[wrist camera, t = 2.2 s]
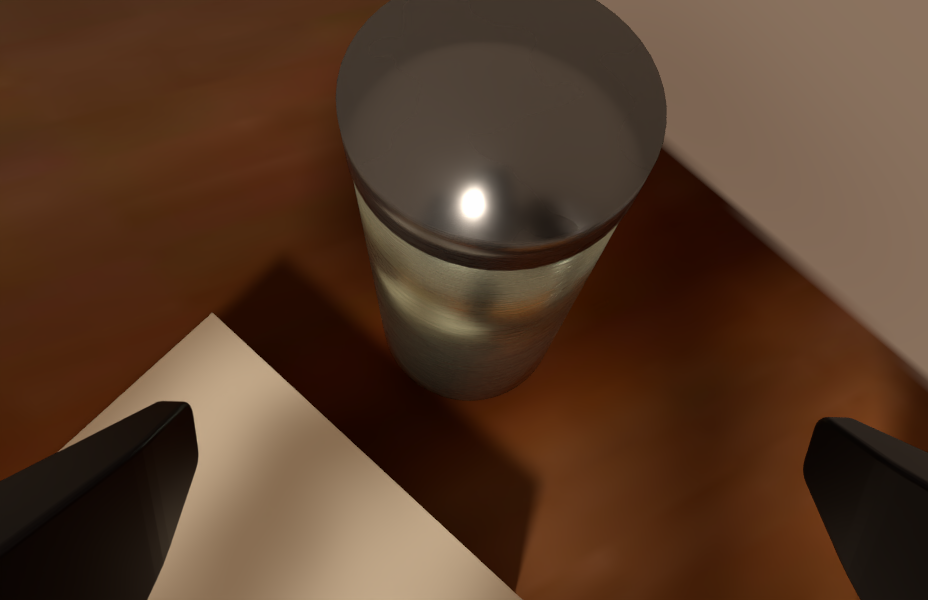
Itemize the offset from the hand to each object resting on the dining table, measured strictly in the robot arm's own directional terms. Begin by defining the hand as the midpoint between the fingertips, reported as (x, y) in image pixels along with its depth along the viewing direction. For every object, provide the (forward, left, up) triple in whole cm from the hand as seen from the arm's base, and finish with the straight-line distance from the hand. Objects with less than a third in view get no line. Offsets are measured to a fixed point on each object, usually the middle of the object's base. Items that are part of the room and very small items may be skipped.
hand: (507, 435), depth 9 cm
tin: (+4, -5, -12) cm, 14 cm away
